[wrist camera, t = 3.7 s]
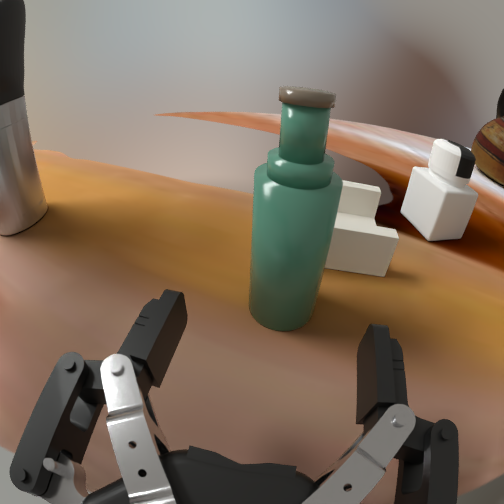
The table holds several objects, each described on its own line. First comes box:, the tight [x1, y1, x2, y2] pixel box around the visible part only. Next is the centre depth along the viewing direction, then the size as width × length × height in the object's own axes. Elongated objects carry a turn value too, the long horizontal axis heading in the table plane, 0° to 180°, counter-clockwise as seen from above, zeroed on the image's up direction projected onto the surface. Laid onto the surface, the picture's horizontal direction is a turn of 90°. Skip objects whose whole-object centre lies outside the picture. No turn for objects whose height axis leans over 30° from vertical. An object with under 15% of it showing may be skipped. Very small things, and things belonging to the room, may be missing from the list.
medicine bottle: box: [401, 139, 478, 241], centre depth 31 cm, size 7×7×12 cm
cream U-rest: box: [325, 180, 399, 277], centre depth 30 cm, size 11×11×4 cm
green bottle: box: [249, 87, 343, 331], centre depth 19 cm, size 5×5×16 cm
